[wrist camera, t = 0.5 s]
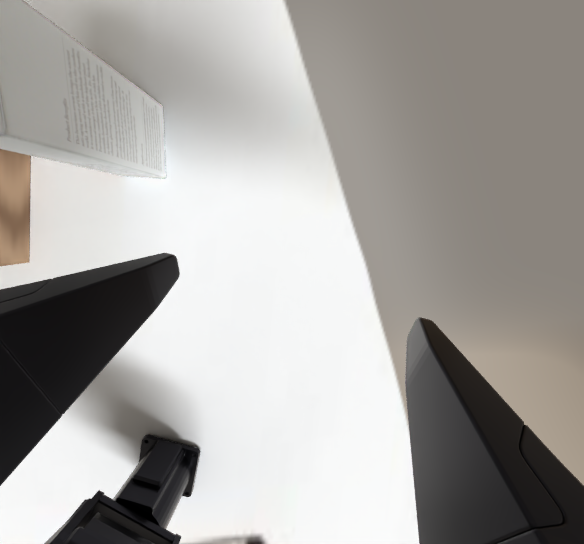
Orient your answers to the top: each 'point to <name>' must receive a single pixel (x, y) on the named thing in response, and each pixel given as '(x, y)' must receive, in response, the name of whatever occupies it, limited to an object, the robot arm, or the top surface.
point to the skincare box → (72, 101)
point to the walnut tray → (14, 207)
